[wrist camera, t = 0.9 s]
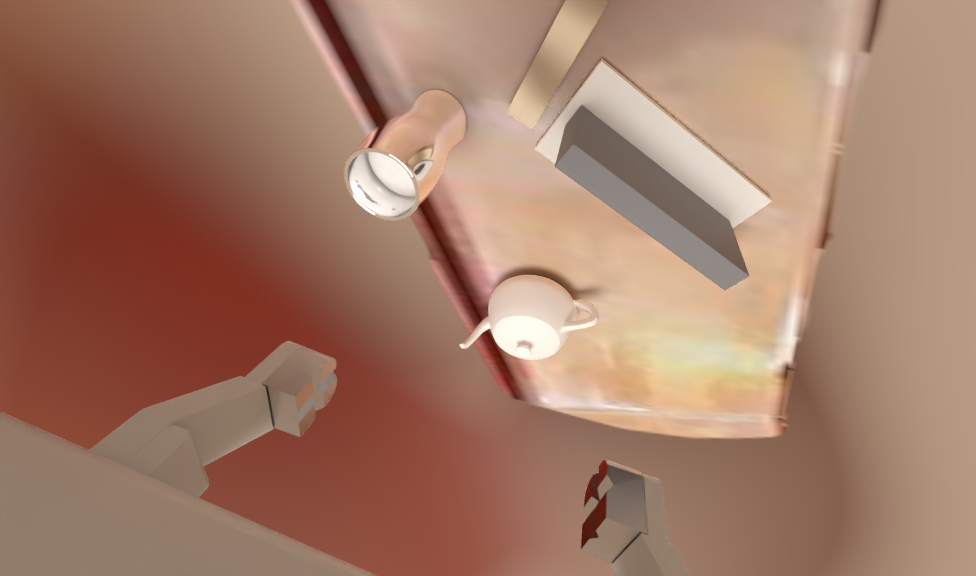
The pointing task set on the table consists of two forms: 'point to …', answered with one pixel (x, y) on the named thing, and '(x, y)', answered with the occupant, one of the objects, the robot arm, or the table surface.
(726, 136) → the table surface
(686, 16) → the table surface
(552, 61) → the birch bar
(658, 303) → the table surface
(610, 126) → the stand
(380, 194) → the beer glass
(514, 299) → the teapot
